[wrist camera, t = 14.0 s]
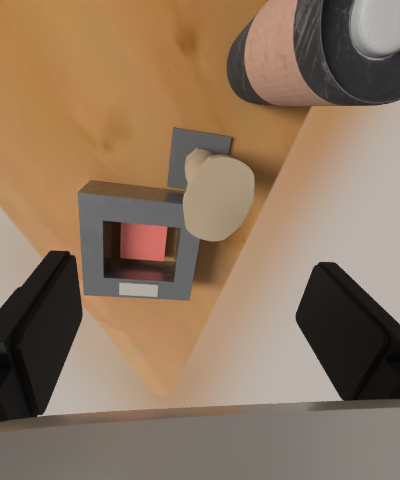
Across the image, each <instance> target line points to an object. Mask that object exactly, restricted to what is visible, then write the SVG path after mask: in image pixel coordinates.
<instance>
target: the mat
mask: <svg viewBox="0 0 400 480" xmlns="http://www.w3.org/2000/svg"><path fill="white" fill-rule="evenodd" d="M230 142H231V137H229V136H223V135H217V134H210V133H204V132H198V131H192V130H185V129H179V128H173V136H172V146H171V156H170V166H169V176H168V187H174V188H182V189H186V187H187V184H188V182H187V179H186V175H185V162H186V157H187V155H189V154H190V153H191V152H193V151H194V150H195V148H200V149H205V150H208V151H210V152H212V153H213V154H214V155H228V153H229V147H230Z"/></svg>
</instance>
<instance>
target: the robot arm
mask: <svg viewBox="0 0 400 480" xmlns="http://www.w3.org/2000/svg"><path fill="white" fill-rule="evenodd" d="M81 320H82V304H81V296H80V288H79V280H78V272H77V264H76V258H75V256H74V255H70V252H68V251H50V252H49V253H48V254H47V255H46V257H45V258H44V259H43V260H42V262H41V263H40V264H39V265H38V267H37V268H36V269H35V270H34V272H33V273H32V274H31V275H30V277H29V278H28V279H27V280H26V282H25V283H24V284H23V285H22V287H19V288H17V289H16V290H15V291H14V292H13V294H12V295H11V296H10V297H9V298H8V300H7V301H6V302H5V303H4V305H3V306H2V307H1V308H0V480H400V324H399V323H398V322H397V321H396V320H395V319H394V318H393V317H392V316H390V315H389V314H388V313H387V312H386V311H385V310H384V309H383V308H382V307H381V306H380V305H379V304H378V303H377V302H376V301H375V300H374V299H373V298H372V297H371V296H370V295H369V294H367V293H366V292H365V291H364V290H363V289H362V288H361V287H360V286H359V285H358V284H357V283H356V282H355V281H354V280H353V279H352V278H351V277H350V276H349V275H348V274H347V273H345V271H344V270H343V269H341V268H340V267H339V266H338V265H337V264H336V263H333V262H319V263H318V265H316V266H314V268H313V270H312V273H311V275H310V278H309V281H308V283H307V286H306V289H305V291H304V294H303V297H302V299H301V302H300V304H299V307H298V310H297V312H296V321H297V324H298V325H299V327H300V329H301V331H302V332H303V334H304V336H305V337H306V339H307V341H308V343H309V344H310V346H311V348H312V349H313V351H314V353H315V354H316V356H317V358H318V360H319V361H320V363H321V365H322V366H323V368H324V370H325V372H326V374H327V375H328V377H329V379H330V380H331V382H332V384H333V385H334V387H335V389H336V390H337V392H338V394H339V396H340V397H341V398H342V400H344V401H327V402H301V403H278V404H255V405H233V406H211V407H190V408H170V409H150V410H130V411H111V412H96V413H81V414H68V415H67V414H66V415H52V416H41V417H37V415H42V414H43V413H44V412H45V410H46V408H47V405H48V403H49V400H50V398H51V395H52V393H53V390H54V388H55V385H56V383H57V380H58V378H59V375H60V373H61V371H62V368H63V366H64V363H65V361H66V358H67V356H68V353H69V351H70V348H71V345H72V343H73V340H74V338H75V336H76V333H77V331H78V328H79V325H80V323H81Z"/></svg>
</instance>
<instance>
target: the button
mask: <svg viewBox="0 0 400 480" xmlns="http://www.w3.org/2000/svg"><path fill="white" fill-rule="evenodd" d="M166 236H167V227H165V226H155V225H144V224H134V223H123V222H121V245H120V258H127V259H140V260H154V261H164V255H165V245H166Z"/></svg>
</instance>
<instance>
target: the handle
mask: <svg viewBox="0 0 400 480" xmlns="http://www.w3.org/2000/svg"><path fill="white" fill-rule="evenodd" d="M185 175H186V179H187V182H188V184H187V187H186V190H185V193H184V197H183V212H184V220H185V227H186V229H187V230H188V231H189V232H190V233H191V234H192V235H193V236H195V237H197V238H200V239H202V240H207V241H221V240H225V239H226V238H227V237H228V236H230V235H231V234H232V233H233V232H234V231H235V230H236V229H238V227H239V226H240V225H241V224H242V223H243V221H244V220H245V218H246V216H247V214H248V211H249V209H250V207H251V205H252V202H253V199H254V173H253V172H252V170H251V169H250V168H249V167H248V166H247V165H246V164H244V163H243V162H242V161H240V160H238V159H236V158H234V157H231V156H228V155H214V154H213V153H212V152H210V151H208V150H205V149H200V148H195V150H194V151H193V152H191V153H190V154H189V155H187V157H186V162H185Z"/></svg>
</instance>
